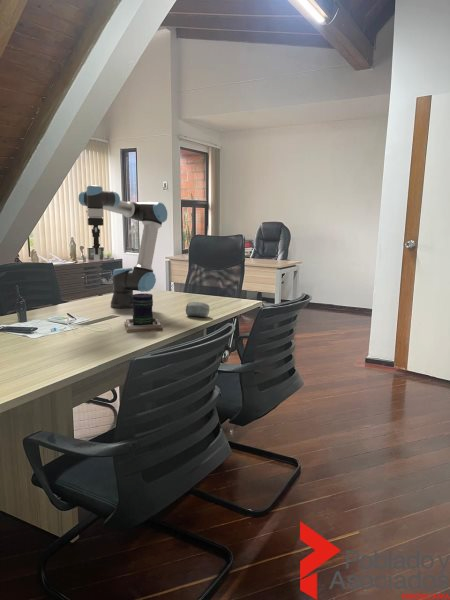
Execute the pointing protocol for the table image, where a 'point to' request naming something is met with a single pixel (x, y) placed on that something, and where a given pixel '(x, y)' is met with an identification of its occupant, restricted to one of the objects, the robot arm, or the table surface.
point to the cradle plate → (143, 326)
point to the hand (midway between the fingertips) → (96, 259)
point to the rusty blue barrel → (142, 309)
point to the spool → (197, 309)
